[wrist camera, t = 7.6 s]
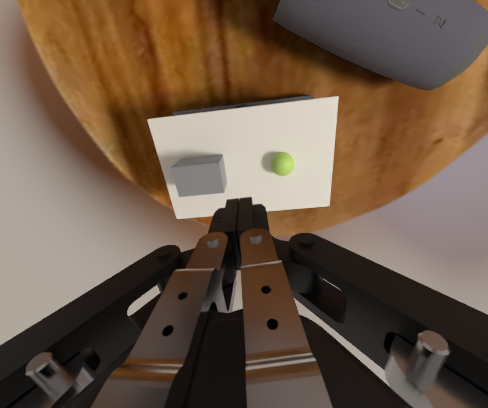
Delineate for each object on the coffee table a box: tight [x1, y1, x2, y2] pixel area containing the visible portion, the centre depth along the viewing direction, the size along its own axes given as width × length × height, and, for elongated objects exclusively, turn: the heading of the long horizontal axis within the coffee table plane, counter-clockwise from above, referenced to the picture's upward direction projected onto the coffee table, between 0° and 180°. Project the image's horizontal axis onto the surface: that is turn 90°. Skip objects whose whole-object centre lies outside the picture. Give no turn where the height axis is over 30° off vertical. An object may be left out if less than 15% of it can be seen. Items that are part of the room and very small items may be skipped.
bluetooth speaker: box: [273, 0, 488, 90], centre depth 25 cm, size 23×9×10 cm, turn 70°
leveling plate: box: [147, 96, 339, 219], centre depth 29 cm, size 15×24×7 cm, turn 96°
